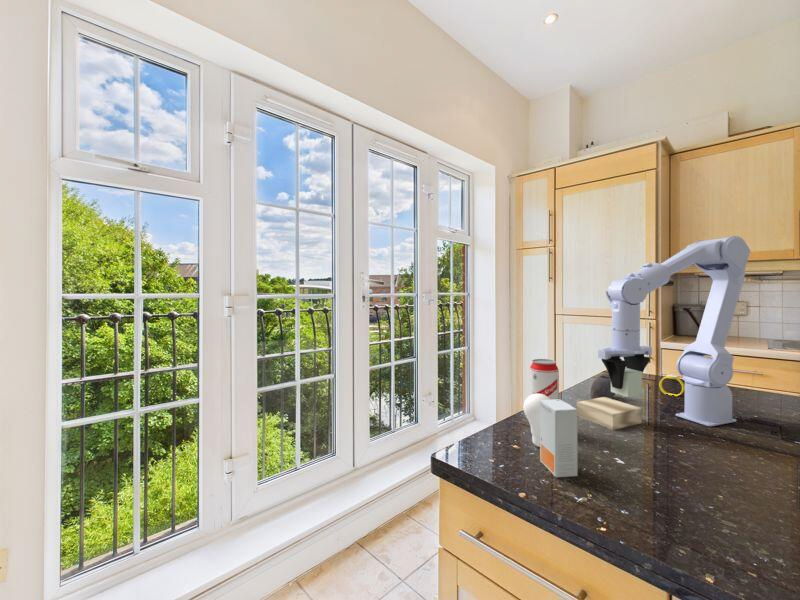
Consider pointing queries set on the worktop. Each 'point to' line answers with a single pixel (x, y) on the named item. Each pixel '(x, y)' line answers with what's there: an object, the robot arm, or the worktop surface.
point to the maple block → (609, 412)
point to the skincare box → (558, 437)
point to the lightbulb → (534, 415)
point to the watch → (671, 378)
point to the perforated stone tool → (602, 387)
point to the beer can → (544, 378)
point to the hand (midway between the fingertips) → (625, 386)
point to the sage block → (630, 383)
